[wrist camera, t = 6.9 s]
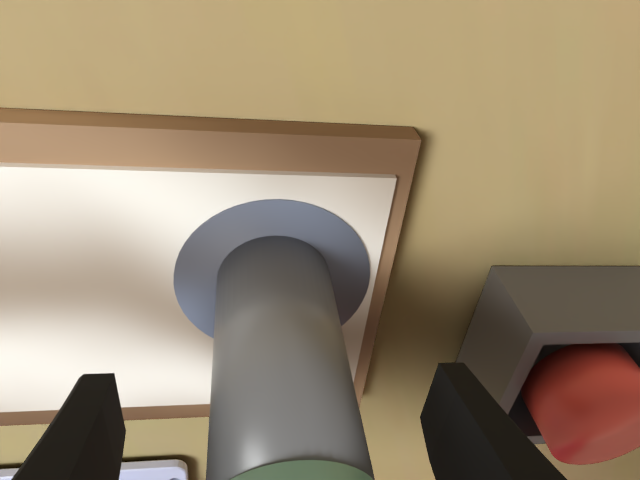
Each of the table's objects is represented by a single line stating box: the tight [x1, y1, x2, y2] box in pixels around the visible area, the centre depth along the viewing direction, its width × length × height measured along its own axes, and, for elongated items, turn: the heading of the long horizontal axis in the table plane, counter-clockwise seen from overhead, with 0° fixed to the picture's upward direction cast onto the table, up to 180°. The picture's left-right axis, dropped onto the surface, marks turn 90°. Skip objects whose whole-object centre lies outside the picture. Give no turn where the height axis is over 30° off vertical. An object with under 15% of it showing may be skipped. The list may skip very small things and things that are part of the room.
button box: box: [455, 266, 640, 444], centre depth 18 cm, size 6×6×3 cm
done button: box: [521, 343, 640, 465], centre depth 16 cm, size 4×4×2 cm
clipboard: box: [0, 108, 421, 426], centre depth 15 cm, size 11×15×2 cm
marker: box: [206, 236, 375, 480], centre depth 11 cm, size 3×3×8 cm
